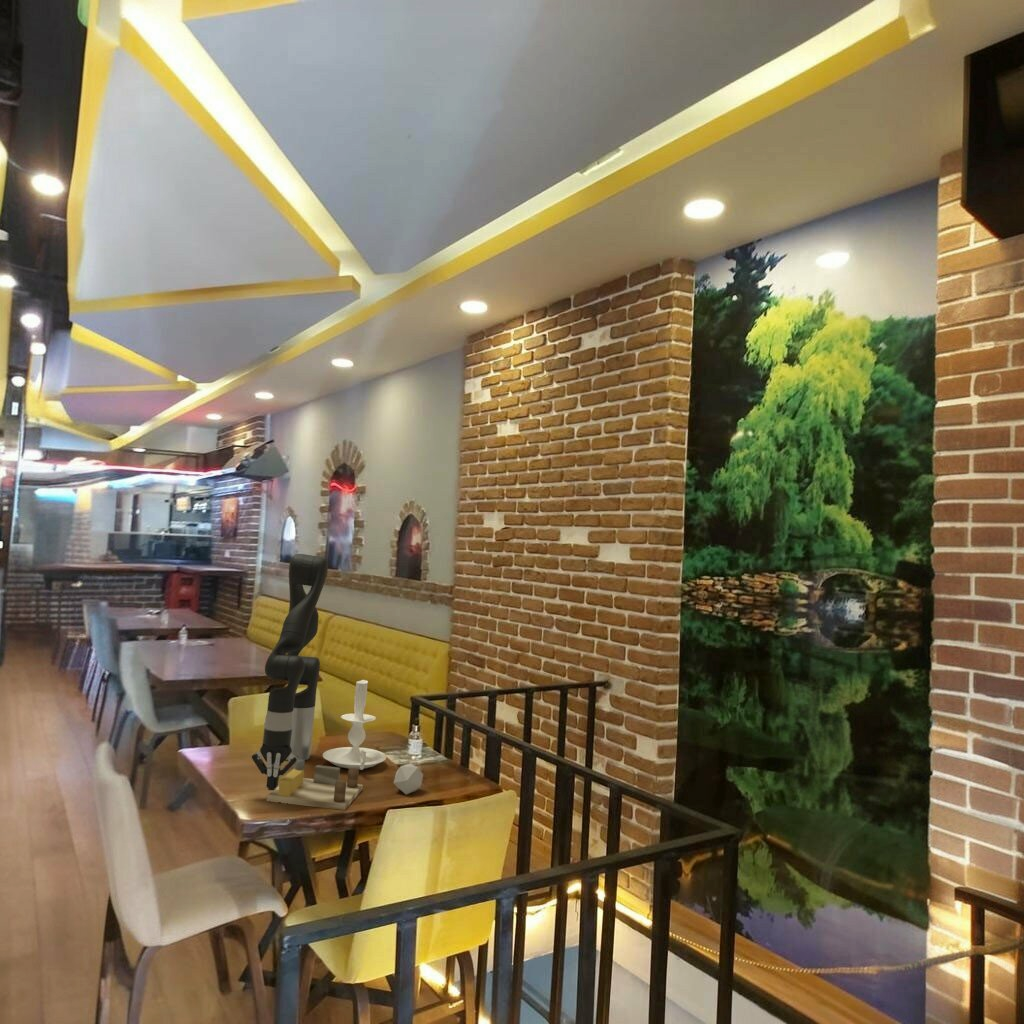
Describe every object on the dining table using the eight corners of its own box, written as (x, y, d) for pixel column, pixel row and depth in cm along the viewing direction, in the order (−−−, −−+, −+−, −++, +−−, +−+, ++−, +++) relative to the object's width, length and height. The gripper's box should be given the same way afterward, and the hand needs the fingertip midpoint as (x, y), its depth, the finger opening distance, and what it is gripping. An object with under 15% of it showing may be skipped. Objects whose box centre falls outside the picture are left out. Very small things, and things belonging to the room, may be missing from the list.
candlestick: (329, 780, 230) (338, 687, 232) (317, 757, 253) (325, 673, 254) (395, 778, 238) (403, 688, 239) (377, 755, 261) (385, 674, 262)
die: (425, 797, 224) (430, 765, 230) (407, 787, 219) (412, 755, 225) (404, 801, 228) (409, 770, 234) (386, 791, 222) (391, 759, 229)
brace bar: (294, 780, 222) (296, 758, 222) (304, 781, 222) (306, 759, 222) (278, 795, 208) (280, 771, 209) (288, 796, 208) (291, 772, 209)
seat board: (290, 781, 226) (292, 759, 226) (362, 789, 224) (364, 767, 224) (266, 801, 208) (269, 777, 208) (344, 810, 206) (347, 785, 206)
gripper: (305, 725, 215) (298, 787, 214) (258, 721, 214) (251, 783, 213) (299, 731, 207) (292, 795, 206) (250, 727, 207) (243, 791, 206)
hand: (271, 789), depth 210 cm, fingers closed
